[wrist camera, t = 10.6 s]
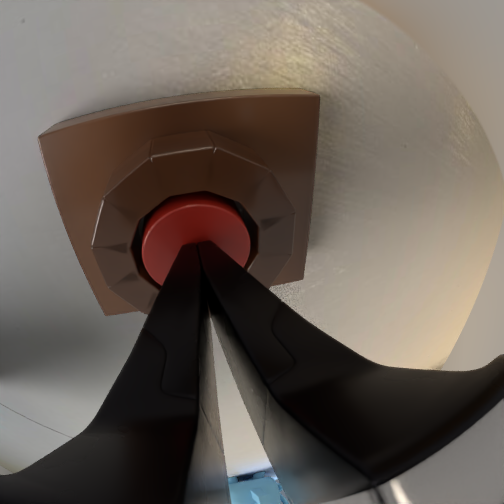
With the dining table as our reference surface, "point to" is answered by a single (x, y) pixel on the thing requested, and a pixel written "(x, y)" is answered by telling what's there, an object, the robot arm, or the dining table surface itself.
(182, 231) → the button
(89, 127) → the control block
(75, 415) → the dining table surface
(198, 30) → the dining table surface
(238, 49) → the dining table surface
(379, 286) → the dining table surface
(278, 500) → the teapot
